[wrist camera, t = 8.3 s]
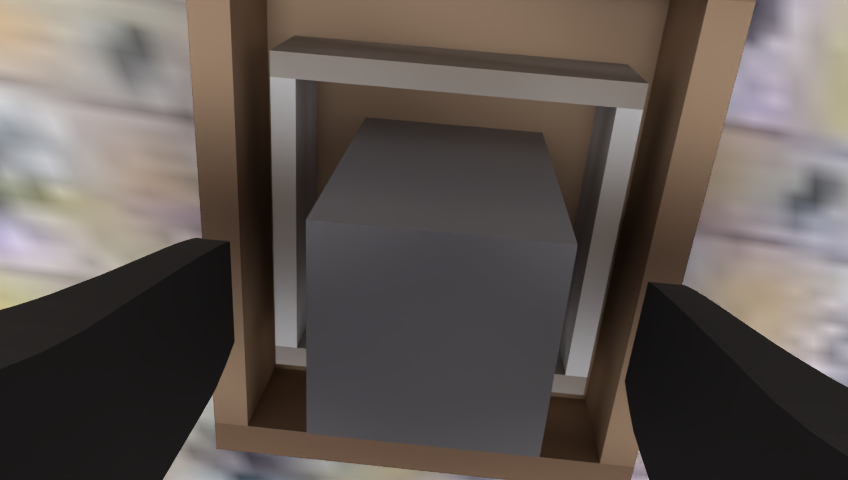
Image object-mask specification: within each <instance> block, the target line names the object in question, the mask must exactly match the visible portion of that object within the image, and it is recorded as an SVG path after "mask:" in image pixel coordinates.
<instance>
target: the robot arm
mask: <svg viewBox="0 0 848 480" xmlns="http://www.w3.org/2000/svg"><path fill="white" fill-rule="evenodd" d="M234 342H235V337H234V316H233V295H232V274H231V253H230V241H222V240H211V239H201V238H193V239H189V240H186V241H183V242H180V243H177V244H174V245H172V246H169V247H167V248H164V249H162V250H159V251H157V252H155V253H152V254H150V255H147V256H145V257H143V258H140V259H138V260H136V261H133V262H131V263H128V264H126V265H124V266H121V267H119V268H117V269H114V270H112V271H110V272H107V273H105V274H102V275H100V276H97V277H94V278H92V279H89V280H87V281H84V282H81V283H79V284H76V285H73V286H71V287H68V288H66V289H63V290H60V291H58V292H55V293H52V294H50V295H47V296H44V297H41V298H38V299H35V300H32V301H29V302H26V303H23V304H19V305H16V306H13V307H9V308H6V309H2V310H0V480H163V478H164V477H165V475H166V473H167V472H168V470H169V468H170V466H171V465H172V463H173V461H174V460H175V458H176V456H177V455H178V453H179V451H180V450H181V448H182V446H183V445H184V443H185V441H186V439H187V438H188V436H189V434H190V433H191V431H192V429H193V428H194V426H195V424H196V423H197V421H198V419H199V417H200V416H201V414H202V412H203V410H204V409H205V407H206V405H207V404H208V402H209V400H210V398H211V397H212V395H213V393H214V391H215V389H216V388H217V385H218V383H219V380H220V378H221V376H222V373H223V371H224V369H225V366H226V363H227V361H228V358H229V356H230V353H231V350H232V348H233V345H234ZM625 387H626V393H627V400H628V406H629V411H630V417H631V422H632V427H633V432H634V435H635V438H636V441H637V444H638V447H639V450H640V453H641V456H642V459H643V462H644V465H645V469H646V472H647V474H648V477H649V480H848V387H846V386H844V385H842V384H840V383H839V382H837V381H835V380H833V379H832V378H830V377H828V376H826V375H825V374H823V373H821V372H820V371H818V370H816V369H815V368H813V367H811V366H810V365H808V364H806V363H805V362H803V361H801V360H800V359H798V358H796V357H795V356H793V355H792V354H790V353H789V352H787V351H785V350H784V349H782V348H781V347H779V346H778V345H776V344H775V343H773V342H772V341H770V340H769V339H767V338H766V337H764V336H763V335H761V334H760V333H758V332H757V331H755V330H754V329H752V328H751V327H749V326H748V325H746V324H745V323H743V322H742V321H740V320H739V319H738V318H736V317H735V316H733V315H732V314H730V313H729V312H727V311H726V310H724V309H723V308H721V307H720V306H718V305H717V304H716V303H714V302H712V301H711V300H709V299H708V298H706V297H705V296H703V295H702V294H700V293H698V292H697V291H695V290H693V289H691V288H689V287H687V286H685V285H677V284H666V283H656V282H648V284H647V288H646V293H645V297H644V301H643V305H642V310H641V314H640V318H639V322H638V327H637V331H636V335H635V339H634V343H633V348H632V352H631V356H630V360H629V365H628V369H627V373H626V377H625Z"/></svg>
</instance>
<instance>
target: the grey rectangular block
mask: <svg viewBox="0 0 848 480" xmlns="http://www.w3.org/2000/svg"><path fill="white" fill-rule="evenodd" d="M577 246H578V244H577V241H576V238H575V234H574V231H573V228H572V225H571V222H570V219H569V215H568V212H567V209H566V206H565V203H564V200H563V196H562V193H561V190H560V187H559V184H558V181H557V177H556V174H555V171H554V168H553V165H552V162H551V158H550V155H549V152H548V149H547V146H546V143H545V139H544V136H543V133H542V132H530V131H518V130H507V129H495V128H484V127H472V126H460V125H449V124H437V123H426V122H414V121H402V120H391V119H379V118H368V117H366V118H365V119H364V121H363V123H362V124H361V126H360V128H359V130H358V131H357V133H356V135H355V136H354V138H353V140H352V142H351V143H350V145H349V147H348V148H347V150H346V152H345V154H344V155H343V157H342V159H341V160H340V162H339V164H338V166H337V167H336V169H335V171H334V172H333V174H332V176H331V178H330V179H329V181H328V183H327V185H326V186H325V188H324V190H323V191H322V193H321V195H320V197H319V198H318V200H317V202H316V203H315V205H314V207H313V209H312V210H311V212H310V214H309V215H308V217H307V219H306V415H307V434H316V435H325V436H335V437H345V438H354V439H364V440H374V441H384V442H393V443H403V444H413V445H423V446H432V447H442V448H452V449H462V450H471V451H481V452H491V453H501V454H510V455H520V456H530V457H540V452H541V447H542V441H543V436H544V430H545V424H546V419H547V413H548V408H549V402H550V397H551V391H552V386H553V380H554V374H555V369H556V363H557V358H558V352H559V347H560V341H561V335H562V330H563V324H564V319H565V313H566V308H567V302H568V297H569V291H570V285H571V280H572V274H573V269H574V263H575V258H576V252H577Z"/></svg>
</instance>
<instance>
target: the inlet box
mask: <svg viewBox="0 0 848 480" xmlns="http://www.w3.org/2000/svg"><path fill="white" fill-rule="evenodd" d="M755 3H756V0H186V5H187V19H188V34H189V49H190V64H191V78H192V93H193V108H194V122H195V137H196V152H197V167H198V181H199V196H200V211H201V226H202V239H211V240H222V241H230V253H231V274H232V295H233V316H234V337H235V342H234V345H233V348H232V350H231V353H230V356H229V358H228V361H227V363H226V366H225V369H224V371H223V373H222V376H221V378H220V380H219V383H218V385H217V388H216V389H215V391H214V393H213V402H214V417H215V432H216V446H217V449H225V450H234V451H244V452H253V453H262V454H272V455H281V456H290V457H299V458H309V459H318V460H327V461H337V462H346V463H355V464H365V465H374V466H383V467H393V468H402V469H411V470H421V471H430V472H439V473H449V474H458V475H467V476H476V477H486V478H495V479H504V480H631V477H632V473H633V469H634V465H635V461H636V458H637V454H638V450H639V447H638V444H637V441H636V438H635V435H634V432H633V427H632V422H631V417H630V411H629V406H628V400H627V393H626V387H625V377H626V373H627V369H628V365H629V360H630V356H631V352H632V348H633V343H634V339H635V335H636V331H637V327H638V322H639V318H640V314H641V310H642V305H643V301H644V297H645V293H646V288H647V284H648V282H656V283H666V284H677V285H682V282H683V278H684V274H685V270H686V267H687V263H688V259H689V255H690V251H691V248H692V244H693V240H694V236H695V232H696V228H697V225H698V221H699V217H700V213H701V209H702V205H703V202H704V198H705V194H706V190H707V186H708V183H709V179H710V175H711V171H712V167H713V163H714V160H715V156H716V152H717V148H718V144H719V141H720V137H721V133H722V129H723V125H724V121H725V118H726V114H727V110H728V106H729V102H730V98H731V95H732V91H733V87H734V83H735V79H736V76H737V72H738V68H739V64H740V60H741V56H742V53H743V49H744V45H745V41H746V37H747V34H748V30H749V26H750V22H751V18H752V14H753V11H754V7H755ZM366 117H368V118H379V119H391V120H402V121H414V122H426V123H437V124H449V125H460V126H472V127H484V128H495V129H507V130H518V131H530V132H542V133H543V136H544V139H545V143H546V146H547V149H548V152H549V155H550V158H551V162H552V165H553V168H554V171H555V174H556V177H557V181H558V184H559V187H560V190H561V193H562V196H563V200H564V203H565V206H566V209H567V212H568V215H569V219H570V222H571V225H572V228H573V231H574V234H575V238H576V241H577V244H578V246H577V252H576V258H575V263H574V269H573V274H572V280H571V285H570V291H569V297H568V302H567V308H566V313H565V319H564V324H563V330H562V335H561V341H560V347H559V352H558V358H557V363H556V369H555V374H554V380H553V386H552V391H551V397H550V402H549V408H548V413H547V419H546V424H545V430H544V436H543V441H542V447H541V452H540V457H530V456H520V455H510V454H501V453H491V452H481V451H471V450H462V449H452V448H442V447H432V446H423V445H413V444H403V443H393V442H384V441H374V440H364V439H354V438H345V437H335V436H325V435H316V434H307V415H306V219H307V217H308V215H309V214H310V212H311V210H312V209H313V207H314V205H315V203H316V202H317V200H318V198H319V197H320V195H321V193H322V191H323V190H324V188H325V186H326V185H327V183H328V181H329V179H330V178H331V176H332V174H333V172H334V171H335V169H336V167H337V166H338V164H339V162H340V160H341V159H342V157H343V155H344V154H345V152H346V150H347V148H348V147H349V145H350V143H351V142H352V140H353V138H354V136H355V135H356V133H357V131H358V130H359V128H360V126H361V124H362V123H363V121H364V119H365V118H366Z"/></svg>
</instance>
